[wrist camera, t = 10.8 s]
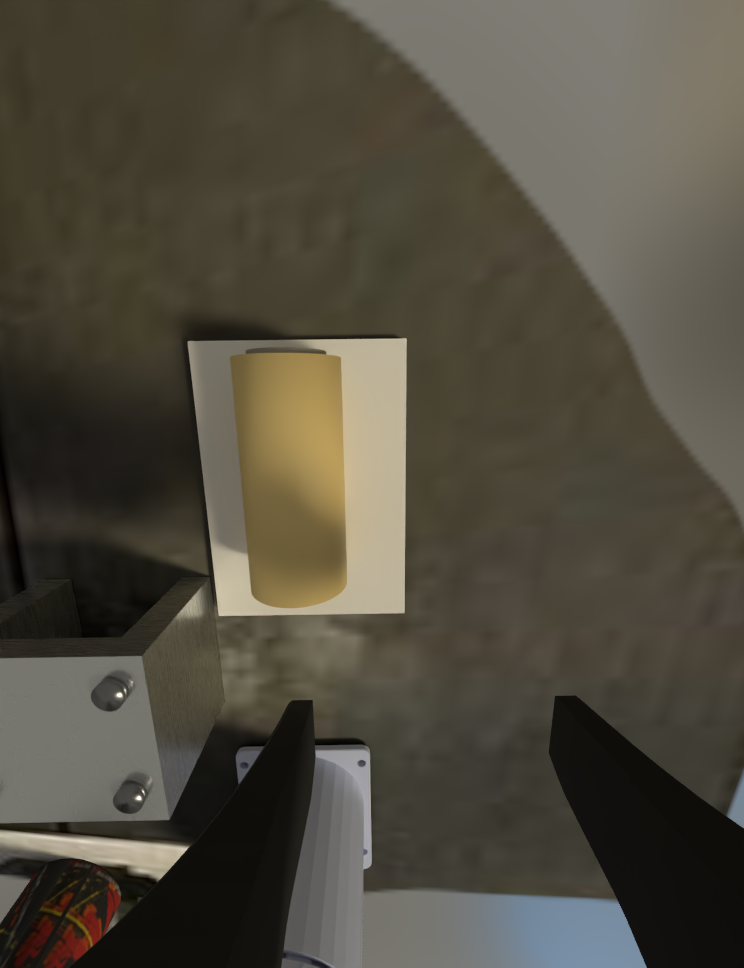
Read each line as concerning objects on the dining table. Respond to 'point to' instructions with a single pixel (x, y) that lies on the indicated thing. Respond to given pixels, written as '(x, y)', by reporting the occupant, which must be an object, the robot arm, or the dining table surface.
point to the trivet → (367, 472)
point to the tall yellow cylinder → (292, 473)
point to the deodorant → (58, 915)
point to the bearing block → (104, 706)
